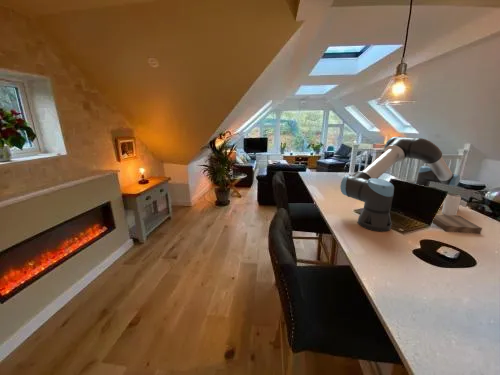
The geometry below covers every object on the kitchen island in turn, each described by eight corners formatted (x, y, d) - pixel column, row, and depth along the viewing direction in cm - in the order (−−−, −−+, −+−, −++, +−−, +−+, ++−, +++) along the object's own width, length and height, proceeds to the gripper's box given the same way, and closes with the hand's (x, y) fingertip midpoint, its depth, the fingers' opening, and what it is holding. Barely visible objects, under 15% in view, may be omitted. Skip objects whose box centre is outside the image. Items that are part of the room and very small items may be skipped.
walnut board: (445, 231, 110) (446, 225, 110) (427, 218, 125) (428, 213, 124) (480, 233, 108) (482, 228, 107) (457, 220, 122) (459, 215, 122)
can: (458, 217, 127) (464, 196, 124) (445, 216, 128) (451, 196, 125) (451, 212, 133) (456, 193, 130) (438, 211, 134) (444, 192, 131)
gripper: (449, 199, 149) (475, 211, 129) (408, 197, 152) (426, 208, 132) (452, 188, 146) (478, 199, 126) (410, 186, 150) (429, 196, 130)
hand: (452, 204), depth 129 cm, fingers open, 13 cm apart
